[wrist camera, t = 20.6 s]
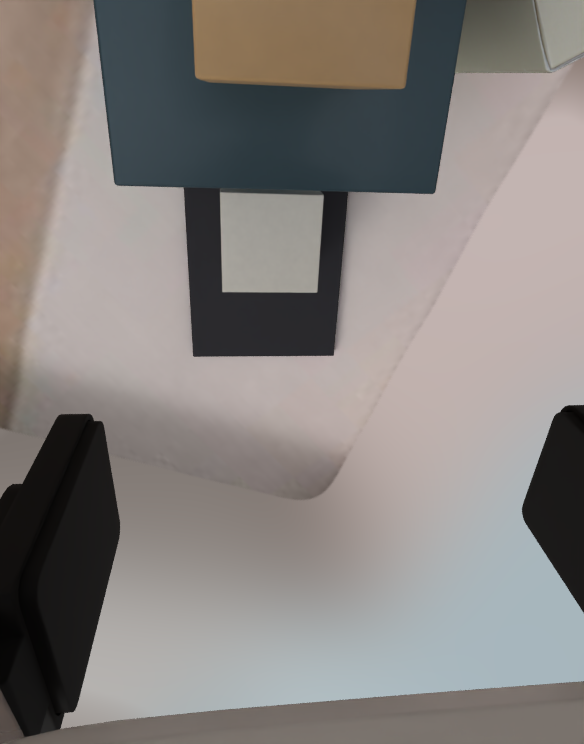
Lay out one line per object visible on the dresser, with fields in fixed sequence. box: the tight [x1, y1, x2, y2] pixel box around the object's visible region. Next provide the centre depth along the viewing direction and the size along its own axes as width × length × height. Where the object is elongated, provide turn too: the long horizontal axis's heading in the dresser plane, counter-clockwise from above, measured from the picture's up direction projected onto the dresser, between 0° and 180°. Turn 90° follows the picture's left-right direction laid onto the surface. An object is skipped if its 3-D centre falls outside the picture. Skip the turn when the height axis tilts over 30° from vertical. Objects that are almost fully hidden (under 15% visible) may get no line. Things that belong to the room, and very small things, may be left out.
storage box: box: [93, 0, 467, 194], centre depth 21 cm, size 10×10×16 cm
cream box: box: [220, 188, 324, 293], centre depth 31 cm, size 6×6×4 cm
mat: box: [184, 187, 348, 357], centre depth 34 cm, size 12×10×1 cm
